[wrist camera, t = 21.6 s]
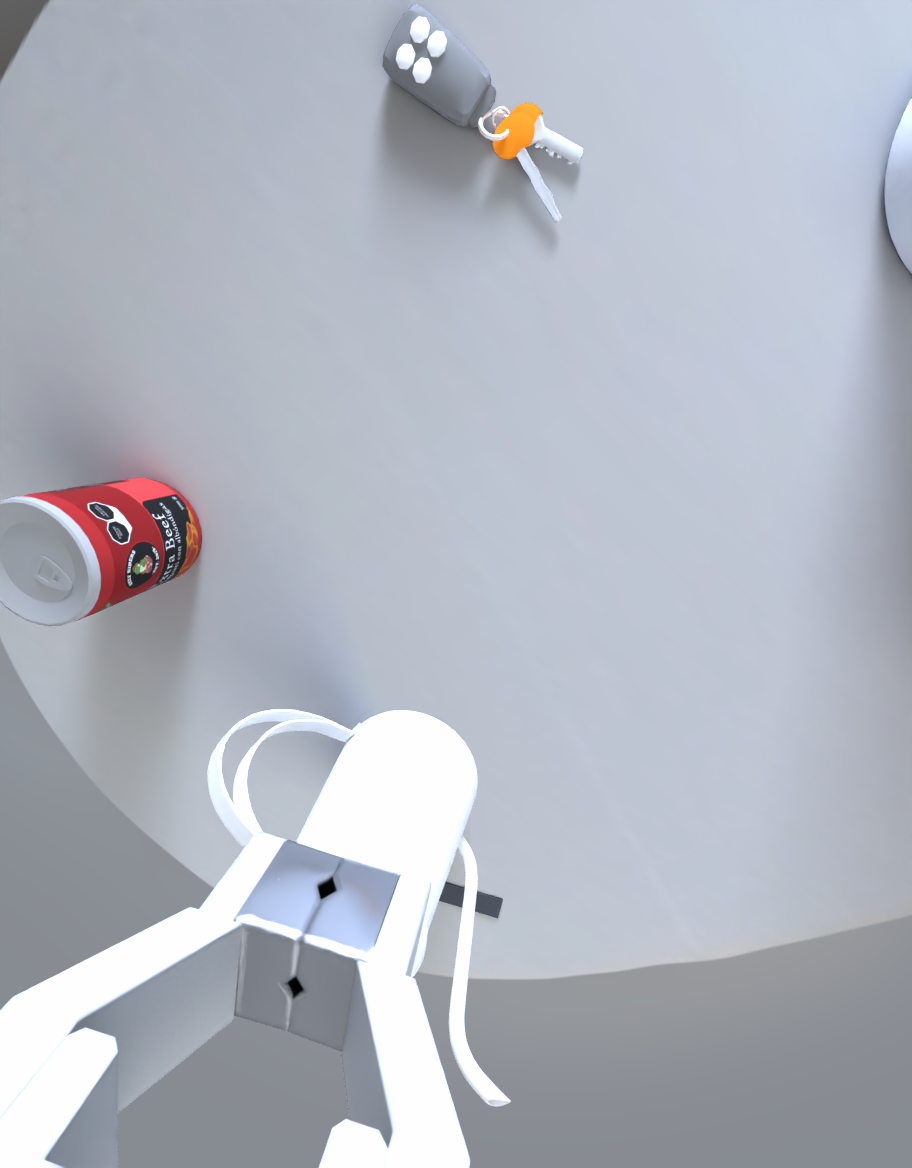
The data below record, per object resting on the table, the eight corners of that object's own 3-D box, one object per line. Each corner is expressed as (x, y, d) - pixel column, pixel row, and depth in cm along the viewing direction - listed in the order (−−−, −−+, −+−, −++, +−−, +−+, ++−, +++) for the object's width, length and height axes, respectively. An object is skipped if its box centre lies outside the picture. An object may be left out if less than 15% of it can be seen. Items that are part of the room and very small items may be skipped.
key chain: (380, 79, 33) (372, 64, 31) (417, 9, 31) (410, -10, 30) (557, 225, 33) (557, 217, 32) (601, 162, 32) (603, 151, 31)
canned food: (199, 589, 45) (88, 644, 34) (107, 558, 45) (-29, 602, 35) (212, 494, 42) (96, 523, 32) (114, 463, 43) (-31, 480, 32)
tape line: (502, 899, 48) (502, 900, 48) (497, 917, 49) (497, 918, 48) (300, 839, 50) (299, 840, 50) (298, 857, 51) (297, 858, 50)
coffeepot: (481, 905, 48) (433, 1191, 31) (261, 704, 47) (75, 885, 29) (577, 839, 45) (585, 1119, 27) (343, 618, 43) (187, 764, 25)
